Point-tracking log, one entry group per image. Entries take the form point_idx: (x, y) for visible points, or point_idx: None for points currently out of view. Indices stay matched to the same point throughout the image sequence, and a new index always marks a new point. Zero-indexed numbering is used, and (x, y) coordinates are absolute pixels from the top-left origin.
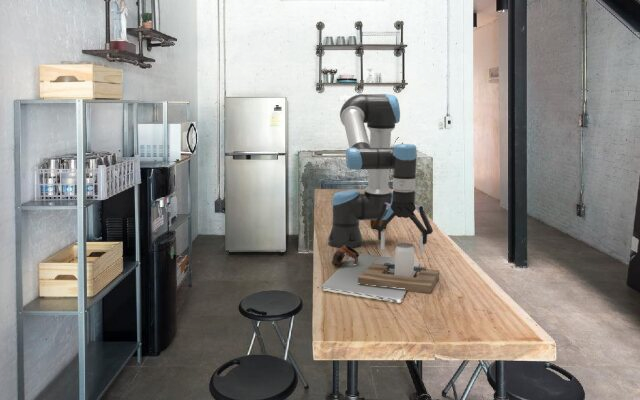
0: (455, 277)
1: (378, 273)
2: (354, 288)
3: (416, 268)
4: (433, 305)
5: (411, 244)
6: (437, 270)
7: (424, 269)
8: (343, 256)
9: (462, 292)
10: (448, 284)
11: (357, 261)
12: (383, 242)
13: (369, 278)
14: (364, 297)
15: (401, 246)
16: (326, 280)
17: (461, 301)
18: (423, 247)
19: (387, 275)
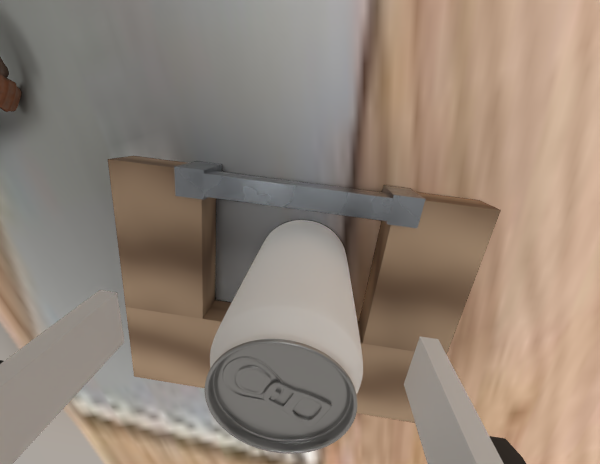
0: (575, 176)
1: (192, 320)
2: (155, 387)
3: (364, 217)
4: None
5: (338, 370)
6: (488, 212)
7: (410, 226)
8: None
9: (542, 370)
10: (505, 292)
11: (2, 76)
12: (76, 372)
13: (178, 382)
14: (210, 445)
15: (254, 411)
16: (35, 332)
17: (512, 443)
18: (454, 379)
19: None
